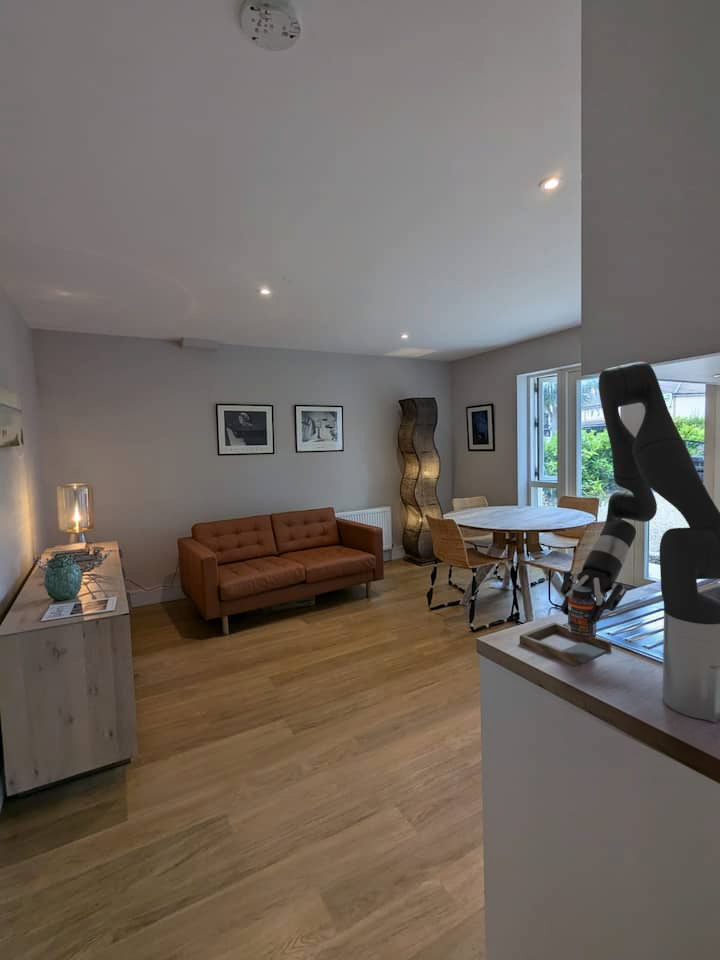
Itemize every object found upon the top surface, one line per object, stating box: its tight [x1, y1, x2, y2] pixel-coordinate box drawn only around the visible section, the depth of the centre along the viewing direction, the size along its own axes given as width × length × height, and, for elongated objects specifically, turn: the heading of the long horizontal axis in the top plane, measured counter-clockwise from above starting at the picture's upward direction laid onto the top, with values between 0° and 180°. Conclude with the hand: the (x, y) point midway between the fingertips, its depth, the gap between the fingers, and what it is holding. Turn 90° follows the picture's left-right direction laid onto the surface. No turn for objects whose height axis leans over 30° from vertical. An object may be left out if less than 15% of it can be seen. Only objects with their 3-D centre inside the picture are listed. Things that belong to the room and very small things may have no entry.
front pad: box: [563, 641, 608, 665], centre depth 107 cm, size 6×10×1 cm, turn 122°
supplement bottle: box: [567, 586, 597, 641], centre depth 106 cm, size 6×6×11 cm
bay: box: [519, 622, 612, 668], centre depth 110 cm, size 15×14×2 cm
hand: (577, 617), depth 105 cm, fingers closed on supplement bottle, 6 cm apart
